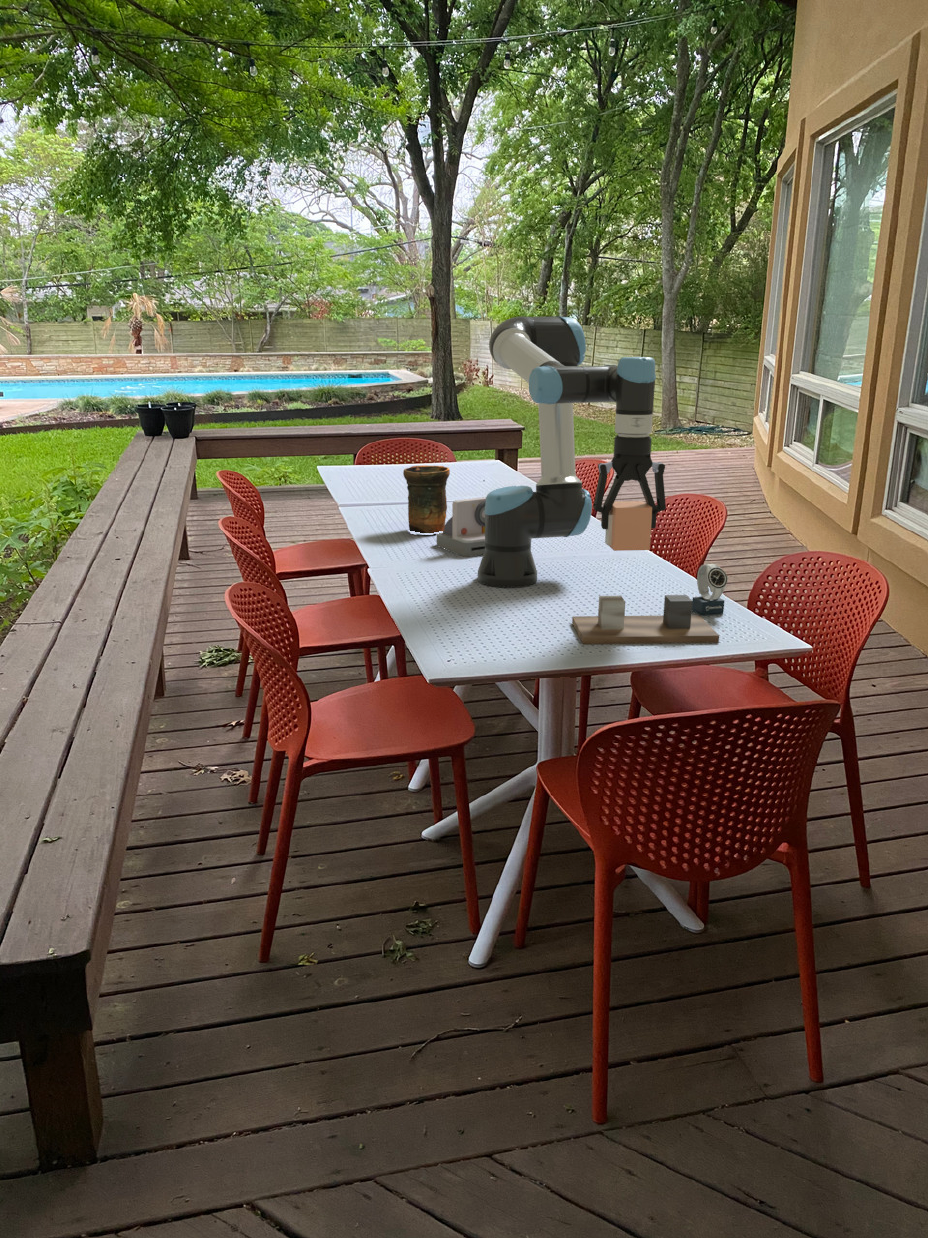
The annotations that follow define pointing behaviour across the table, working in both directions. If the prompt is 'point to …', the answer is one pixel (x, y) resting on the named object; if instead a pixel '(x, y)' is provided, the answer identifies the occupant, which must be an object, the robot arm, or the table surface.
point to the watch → (716, 582)
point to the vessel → (426, 497)
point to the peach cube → (631, 525)
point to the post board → (644, 624)
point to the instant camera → (465, 528)
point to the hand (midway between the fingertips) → (627, 543)
